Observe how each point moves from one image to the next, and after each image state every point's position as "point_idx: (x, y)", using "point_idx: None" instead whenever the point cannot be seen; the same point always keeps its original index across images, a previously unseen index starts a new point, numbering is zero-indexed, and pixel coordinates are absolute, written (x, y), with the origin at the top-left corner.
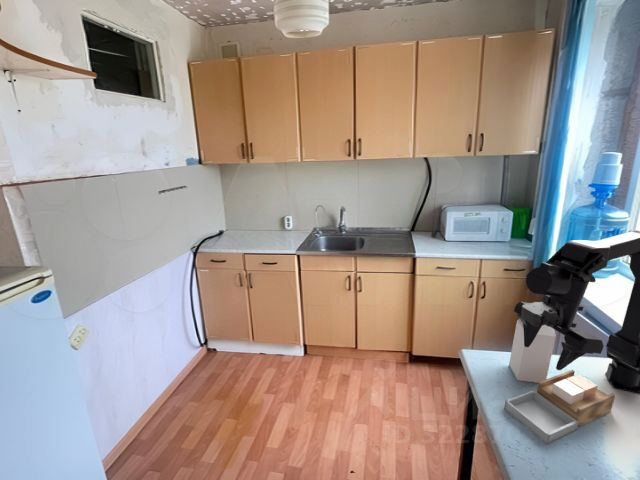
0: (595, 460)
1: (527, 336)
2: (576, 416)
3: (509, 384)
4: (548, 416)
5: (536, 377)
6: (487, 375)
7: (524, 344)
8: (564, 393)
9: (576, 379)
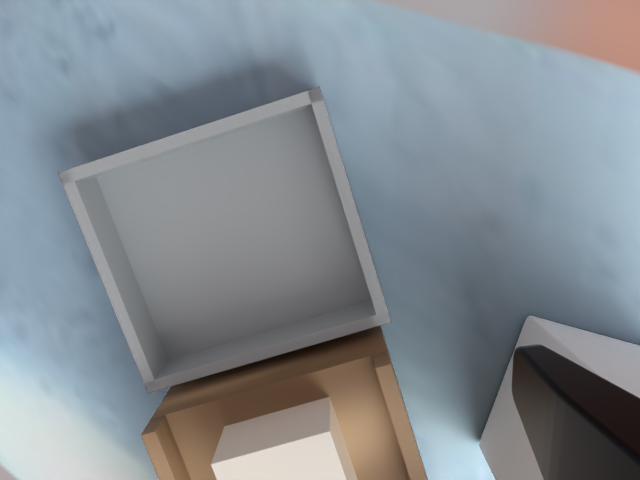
0: (9, 325)
1: (629, 467)
2: (167, 403)
3: (504, 248)
4: (242, 294)
5: (506, 419)
6: (601, 160)
7: (549, 354)
8: (258, 440)
9: None
